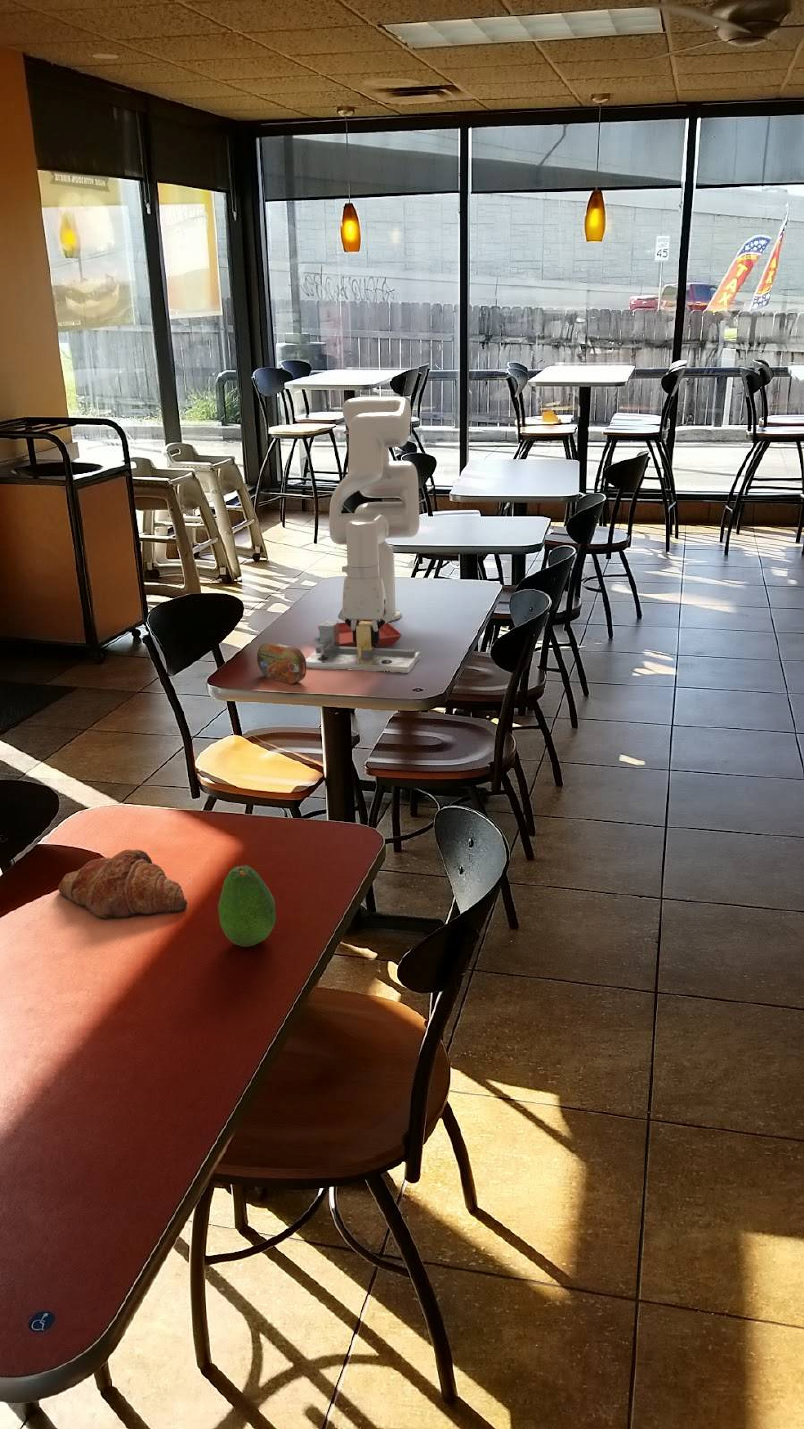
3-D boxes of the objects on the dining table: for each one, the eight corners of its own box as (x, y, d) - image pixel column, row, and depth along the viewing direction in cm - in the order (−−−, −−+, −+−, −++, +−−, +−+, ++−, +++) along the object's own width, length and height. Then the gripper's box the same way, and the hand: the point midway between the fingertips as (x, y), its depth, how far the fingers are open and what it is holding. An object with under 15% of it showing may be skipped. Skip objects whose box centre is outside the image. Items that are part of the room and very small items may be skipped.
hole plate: (319, 653, 287) (317, 619, 284) (419, 657, 281) (418, 623, 278) (303, 667, 276) (301, 633, 273) (408, 673, 270) (407, 637, 267)
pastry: (72, 939, 163) (65, 889, 160) (57, 891, 176) (50, 844, 173) (189, 912, 169) (184, 864, 166) (166, 868, 182) (161, 822, 179)
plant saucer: (335, 656, 286) (334, 643, 285) (316, 637, 302) (315, 625, 301) (403, 647, 291) (403, 634, 290) (381, 629, 307) (381, 617, 306)
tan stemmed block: (362, 648, 283) (361, 621, 281) (376, 649, 282) (375, 621, 280) (352, 658, 275) (351, 630, 273) (366, 659, 274) (365, 631, 272)
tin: (257, 674, 273) (254, 641, 270) (267, 671, 275) (264, 637, 272) (299, 687, 263) (297, 652, 260) (309, 684, 265) (307, 649, 262)
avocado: (211, 952, 158) (203, 875, 154) (238, 924, 165) (231, 849, 160) (262, 962, 155) (256, 884, 151) (288, 933, 162) (283, 857, 158)
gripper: (325, 574, 272) (329, 648, 279) (393, 576, 268) (395, 651, 275) (335, 567, 279) (338, 639, 286) (401, 569, 275) (403, 642, 282)
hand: (366, 644), depth 280 cm, fingers closed on tan stemmed block, 3 cm apart
